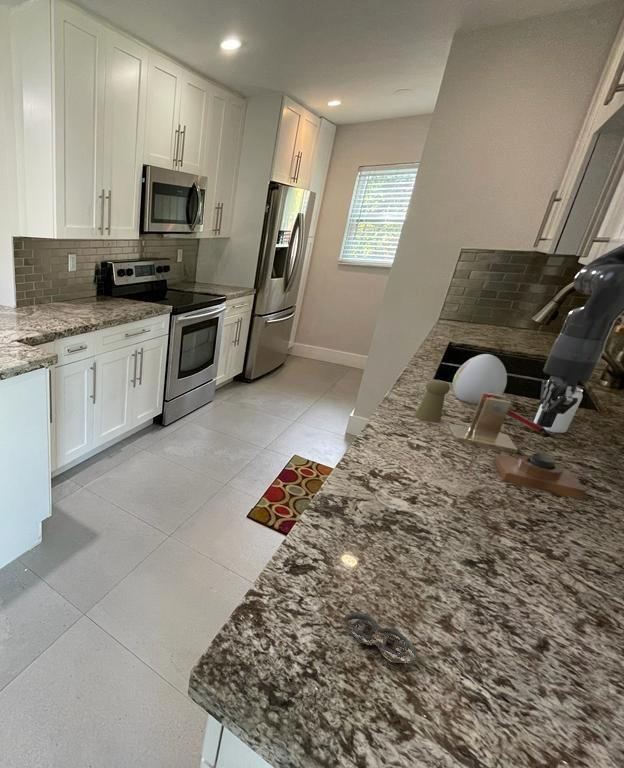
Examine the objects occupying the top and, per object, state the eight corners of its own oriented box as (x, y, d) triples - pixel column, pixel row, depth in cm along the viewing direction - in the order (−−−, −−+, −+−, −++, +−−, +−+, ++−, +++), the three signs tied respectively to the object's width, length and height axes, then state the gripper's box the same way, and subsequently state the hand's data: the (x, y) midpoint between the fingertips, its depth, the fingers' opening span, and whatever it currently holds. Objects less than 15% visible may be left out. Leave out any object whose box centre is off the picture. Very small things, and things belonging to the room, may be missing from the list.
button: (548, 463, 87) (552, 456, 86) (555, 471, 84) (558, 464, 83) (526, 458, 88) (529, 451, 88) (531, 466, 85) (535, 459, 85)
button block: (564, 478, 88) (571, 462, 87) (581, 500, 81) (590, 483, 80) (492, 462, 94) (498, 446, 92) (502, 481, 87) (509, 465, 85)
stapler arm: (535, 430, 100) (544, 423, 99) (544, 440, 95) (554, 433, 94) (481, 400, 104) (489, 393, 103) (486, 408, 99) (495, 401, 98)
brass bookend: (505, 438, 105) (523, 396, 101) (516, 454, 98) (535, 409, 93) (447, 427, 110) (462, 386, 106) (453, 440, 103) (469, 397, 99)
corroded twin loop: (348, 610, 56) (350, 604, 56) (418, 648, 51) (421, 643, 51) (337, 635, 53) (339, 629, 52) (412, 679, 48) (414, 673, 47)
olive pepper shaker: (439, 416, 117) (451, 380, 113) (442, 424, 112) (455, 386, 108) (413, 411, 120) (425, 376, 116) (415, 418, 115) (427, 382, 111)
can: (564, 436, 107) (584, 393, 102) (530, 427, 111) (548, 386, 107) (567, 429, 111) (586, 388, 106) (534, 420, 115) (551, 381, 111)
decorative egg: (473, 392, 135) (489, 348, 130) (509, 408, 124) (528, 360, 118) (438, 392, 134) (453, 348, 129) (471, 408, 123) (489, 360, 117)
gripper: (613, 366, 84) (577, 441, 90) (585, 351, 94) (554, 419, 100) (562, 360, 87) (531, 433, 93) (541, 346, 98) (514, 412, 104)
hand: (543, 425), depth 97 cm, fingers closed
